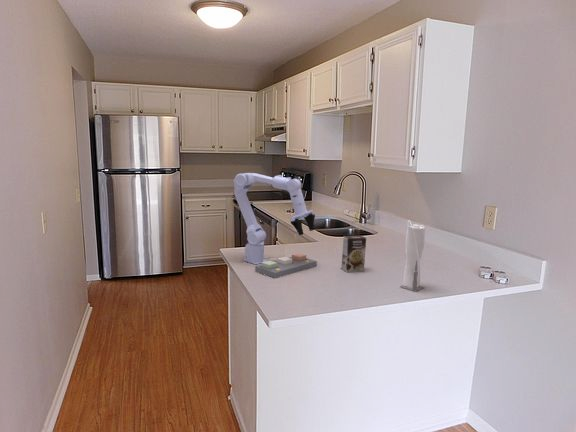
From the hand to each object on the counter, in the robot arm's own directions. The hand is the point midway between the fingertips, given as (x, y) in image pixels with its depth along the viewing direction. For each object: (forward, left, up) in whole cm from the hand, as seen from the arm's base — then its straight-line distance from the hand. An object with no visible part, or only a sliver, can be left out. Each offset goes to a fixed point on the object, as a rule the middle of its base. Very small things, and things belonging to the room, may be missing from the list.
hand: (306, 232), depth 187 cm
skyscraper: (+47, +14, -17) cm, 52 cm away
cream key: (-7, -7, -16) cm, 19 cm away
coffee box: (+17, +15, -17) cm, 28 cm away
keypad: (-5, -7, -17) cm, 19 cm away
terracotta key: (-7, +3, -16) cm, 17 cm away
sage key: (-7, -17, -16) cm, 24 cm away
